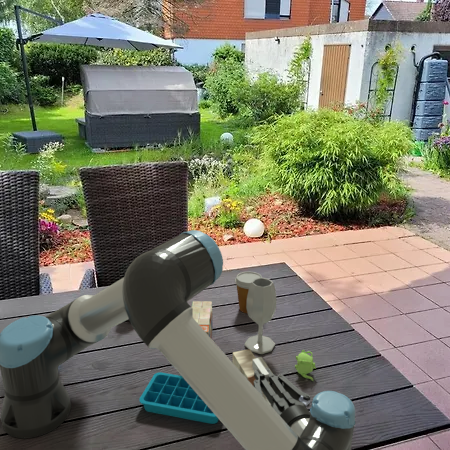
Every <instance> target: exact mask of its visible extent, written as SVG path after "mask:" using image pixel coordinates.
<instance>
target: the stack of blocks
mask: <svg viewBox="0 0 450 450" xmlns="http://www.w3.org/2000/svg"><path fill="white" fill-rule="evenodd" d="M191 303H192V304H191V307H192V308H193V319H194V320H195V321H196V322H197V323H198V324H199V325H200V326H201V328H202V329H203V330H204V331H205V332H206V333H207V334H208V335H209V337H210V338H211V339H212V337H213V315H214V314H213V301H205V300H204V301H203V300H202V301H198V300H197V301H196V300H192V301H191Z"/></svg>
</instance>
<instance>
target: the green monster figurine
mask: <svg viewBox="0 0 450 450" xmlns="http://www.w3.org/2000/svg"><path fill="white" fill-rule="evenodd" d="M295 360H296V361H297V363H296V364H295V365H294V369H295V370H296V371H297V373H298V374H300V375H301V376H302V377H303V378H305V379H307V380H309V379H310V380H311V381H312V382H314V378H313V377H312V376H310V375H307V374H311V373H312V372H313V370H314V369H317V367H316V362H314V358H313V352H312V351H305V349H302V350H301V352H300V353H298V355H295Z"/></svg>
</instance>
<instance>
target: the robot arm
mask: <svg viewBox="0 0 450 450" xmlns="http://www.w3.org/2000/svg"><path fill="white" fill-rule="evenodd" d="M223 266H224V259H223V255H222V252H221V249H220V247H219V246H218V244H217V243H216V241H215V240H214V239H213V238H212V237H211V236H210V235H208V234H207V233H204V232H202V231H201V230H196V229H194V230H193V229H192V230H188V231H183V232H181V233H180V234H179V235H177V236H176V237H174V238H172V239H170V240H168V241H166V242H163V243H162V244H160V245H158V246H156V247H154V248H152V249H150V250H148V251H146V252H143V253H141V254H139V255H138V256H137V257H135V259H133V261H132V262H131V263H130V264H129V266H128V267H127V269H126V271H125V273H124V277H122V278H121V279H119V280H117V281H115V282H114V283H112V284H111V285H108V286H107V287H106V288H103V290H100V291H99V292H98V293H96V294H84V295H81V296H79V297H77V298H75V299H74V300H73V301H71V302H69V303H67V304H66V305H63V307H60V308H58V309H57V310H55V311H52V312H51V313H49V314H48V315H46V316H43V315H34V314H33V315H29V316H28V317H25V316H24V317H21V318H19V319H16V320H14V321H12V322H11V323H9V324H8V325H7V326H5V327H4V328H3V329H2V330H1V332H0V375H1V380H2V385H3V386H2V387H3V391H4V397H3V398H4V399H3V402H2V406H1V412H0V421H1V426H2V429H3V430H4V431H3V432H5V433H6V434H7V435H9V436H11V437H13V438H17V439H30V438H32V439H33V438H37V437H41V436H43V435H46V434H47V433H50V432H52V431H54V430H55V429H56V428H58V427H60V426H61V424H63V423H64V421H66V419H67V418H68V416H69V415H70V412H71V410H72V409H71V408H72V407H71V406H72V403H71V398H70V394H69V393H68V391H67V390H66V388H65V386H64V384H63V383H62V381H61V380H60V375H59V367H60V366H61V365H62V364H65V362H66V361H68V360H70V359H71V358H73V357H74V356H76V355H77V354H79V353H80V352H82V351H83V350H85V349H87V348H89V347H90V346H92V345H94V344H96V343H98V342H100V341H102V340H104V339H105V338H106V337H107V336H108V335H109V333H110V332H111V330H112V328H114V327H116V326H118V325H120V324H122V323H124V322H126V321H129V320H130V321H129V322H130V324H131V326H132V327H133V329H134V332H135V333H136V334H137V336H138V337H139V338H140V340H141V341H142V342H143V343H144V344H145V345H146V346H147V348H148V349H151V350H159V352H160V353H161V354H162V355H163V356H164V357H165V359H166V360H167V361H168V362H169V363H170V364H171V366H172V367H173V368H174V369H175V370H176V372H177V373H178V375H179V376H182V377H183V378H184V379H185V381H186V382H187V383H188V384H189V385H190V386H191V388H192V389H193V390H194V391H195V392H196V393H197V394H198V396H199V397H200V398H201V399H202V400H203V401H204V403H205V404H206V405H207V406H208V407H209V408H210V409H211V411H212V412H213V413H214V414H215V415H216V416H217V418H218V419H219V420H218V421H220V422H221V423H222V424H223V426H224V427H225V428H226V429H227V430H228V431H229V433H230V434H231V435H232V436H233V437H234V438H235V440H236V441H237V442H238V443H239V444H240V445H241V446H242V448H243V449H244V450H352V449H351V448H352V442H353V437H354V428H355V425H356V407H355V405H354V403H353V402H352V399H350V398H349V397H348V396H346V395H345V394H343V393H340V392H337V391H334V390H324V391H321V392H318V393H316V395H314V397H313V398H312V402H311V395H310V394H308V393H306V392H304V391H303V390H301V389H300V388H299V387H298V386H296V385H295V384H294V383H293V382H292V381H290V380H289V379H288V378H287V377H286V376H284V375H283V374H281V373H279V374H278V375H275V374H274V373H273V371H272V370H271V369H270V367H269V368H265V367H264V366H263V364H262V363H261V362H260V360H259V359H258V357H256V359H253V362H252V369H253V370H254V377H255V379H256V380H254V386H253V385H252V384H251V383H250V382H249V381H248V379H247V378H246V377H245V376H244V375H243V374H242V373H241V372H240V370H239V369H238V368H237V367H236V366H235V365H234V364H233V363H232V360H231V359H230V358H229V357H228V356H227V354H226V353H225V352H224V351H223V350H222V349H221V347H220V346H219V345H218V344H217V343H216V342H215V341H214V340H213V339H212V337H211V338H210V337H209V335H208V334H207V333H206V332H205V331H204V330H203V329H202V328H201V326H200V325H199V324H198V323H197V322H196V321H195V320H194V319H193V308H192V305H190V303H188V302H189V301H190V300H192V299H193V298H195V297H196V296H197V295H199V294H200V293H201V292H203V291H204V290H206V289H207V288H208V287H210V286H212V285H214V284H215V283H216V281H217V280H218V279H220V277H221V275H222V273H223V270H224V267H223ZM128 319H129V320H128ZM269 369H270V370H271V371H272V372H271V371H270V370H269ZM272 373H273V374H272ZM269 382H270V383H269ZM271 387H272V388H271ZM261 390H262V391H261ZM273 390H274V391H273ZM262 392H263V393H264V395H265V396H266V398H267V399H268V401H269V402H270V404H271V405H270V404H269V403H268V402H267V401H266V400H265V399H264V397H263V394H262ZM275 393H276V394H275ZM310 404H311V405H310ZM310 406H311V407H310ZM308 407H310V408H308Z"/></svg>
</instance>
